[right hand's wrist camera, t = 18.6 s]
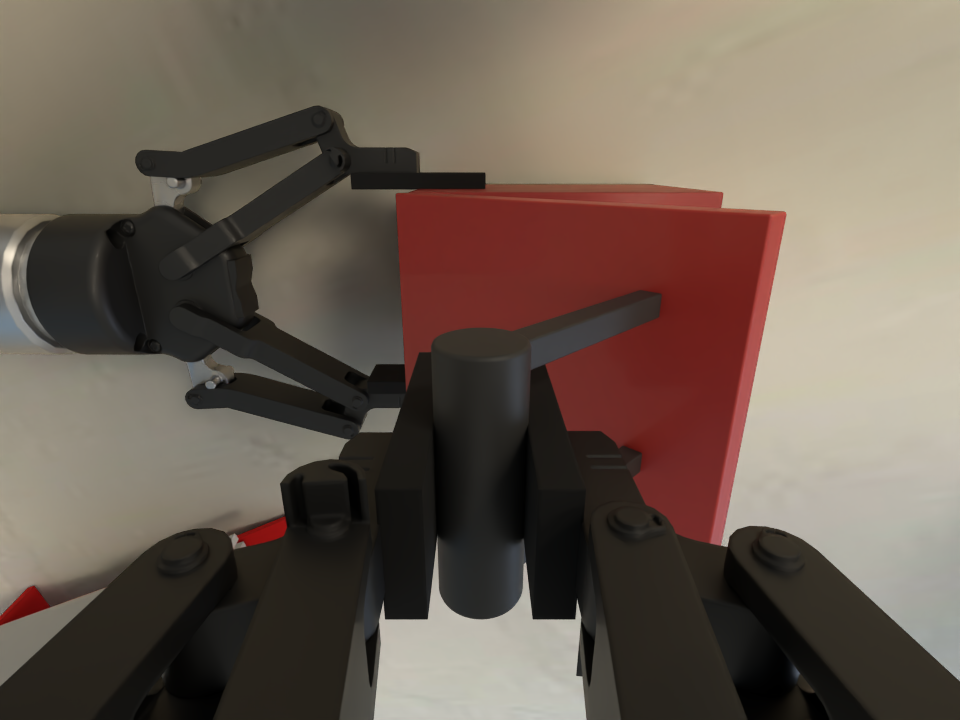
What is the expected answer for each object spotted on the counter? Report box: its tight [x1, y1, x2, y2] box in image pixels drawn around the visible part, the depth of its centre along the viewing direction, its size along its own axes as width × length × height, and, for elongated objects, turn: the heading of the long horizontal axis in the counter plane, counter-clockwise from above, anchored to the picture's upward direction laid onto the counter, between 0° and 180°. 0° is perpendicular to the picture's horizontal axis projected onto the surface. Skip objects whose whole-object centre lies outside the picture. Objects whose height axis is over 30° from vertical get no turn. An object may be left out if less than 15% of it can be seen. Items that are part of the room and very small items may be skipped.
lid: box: [396, 192, 786, 619], centre depth 16 cm, size 14×10×9 cm
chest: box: [409, 184, 723, 208], centre depth 29 cm, size 14×10×11 cm
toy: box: [0, 516, 287, 686], centre depth 39 cm, size 12×13×30 cm
